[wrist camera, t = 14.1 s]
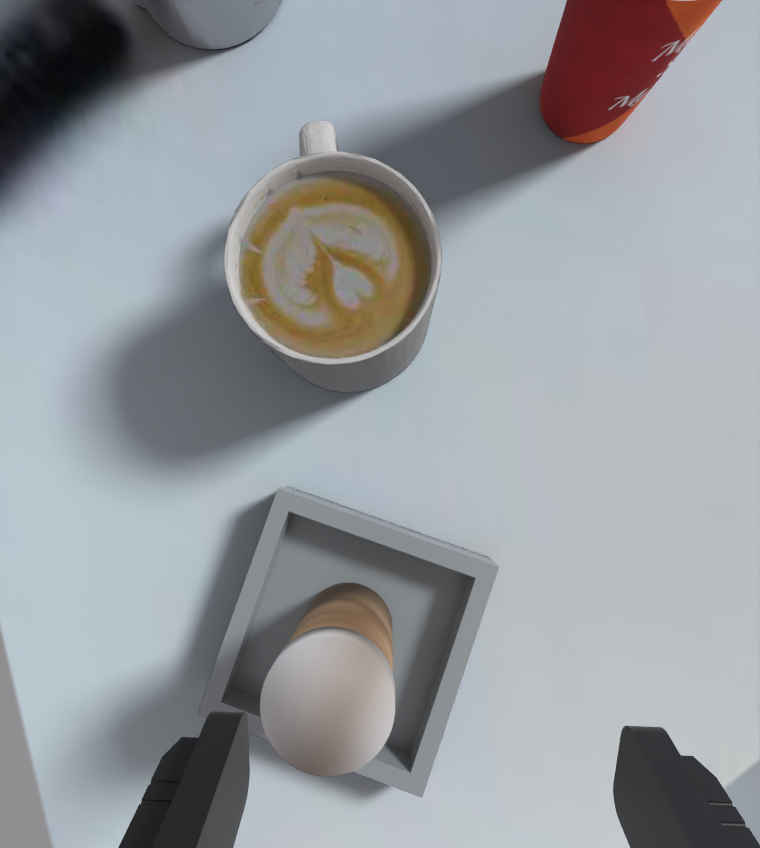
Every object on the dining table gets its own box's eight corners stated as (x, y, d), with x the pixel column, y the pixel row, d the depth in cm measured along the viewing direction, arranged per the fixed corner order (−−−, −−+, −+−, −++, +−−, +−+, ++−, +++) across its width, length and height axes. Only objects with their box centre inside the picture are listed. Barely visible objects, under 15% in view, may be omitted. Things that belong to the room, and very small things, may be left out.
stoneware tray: (214, 691, 35) (197, 713, 32) (287, 486, 36) (277, 488, 33) (419, 768, 34) (422, 797, 31) (489, 557, 35) (498, 566, 32)
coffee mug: (425, 396, 36) (437, 370, 26) (264, 388, 36) (215, 360, 26) (434, 185, 37) (450, 81, 27) (278, 179, 37) (235, 74, 27)
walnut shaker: (289, 656, 34) (240, 748, 23) (320, 568, 34) (286, 617, 23) (376, 687, 34) (369, 796, 23) (406, 598, 34) (413, 663, 23)
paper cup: (629, 173, 36) (776, -7, 22) (509, 144, 37) (581, -51, 23) (657, 57, 37) (818, -191, 23) (538, 29, 37) (626, -231, 23)
